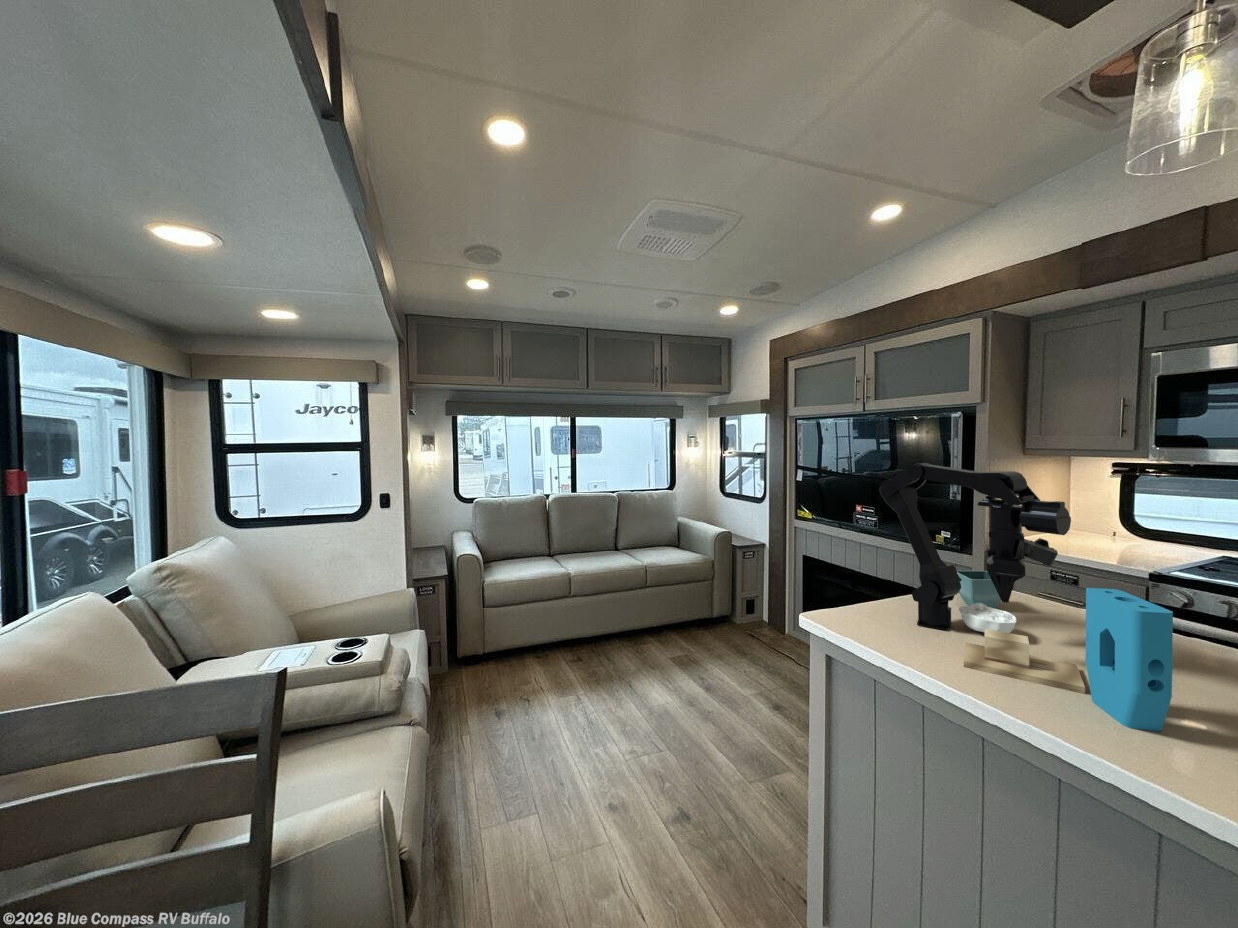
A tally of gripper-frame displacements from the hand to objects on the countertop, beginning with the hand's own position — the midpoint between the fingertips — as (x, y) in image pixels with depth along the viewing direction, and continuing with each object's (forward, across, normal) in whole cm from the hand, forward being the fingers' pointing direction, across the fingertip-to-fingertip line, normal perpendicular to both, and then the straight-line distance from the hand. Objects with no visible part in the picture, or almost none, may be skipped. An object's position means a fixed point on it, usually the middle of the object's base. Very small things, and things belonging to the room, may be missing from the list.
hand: (1004, 596), depth 103 cm
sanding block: (+11, -10, 0) cm, 15 cm away
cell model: (+12, +8, +3) cm, 15 cm away
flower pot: (+12, +29, +5) cm, 32 cm away
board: (+12, -10, -2) cm, 16 cm away
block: (+12, -20, -16) cm, 28 cm away
